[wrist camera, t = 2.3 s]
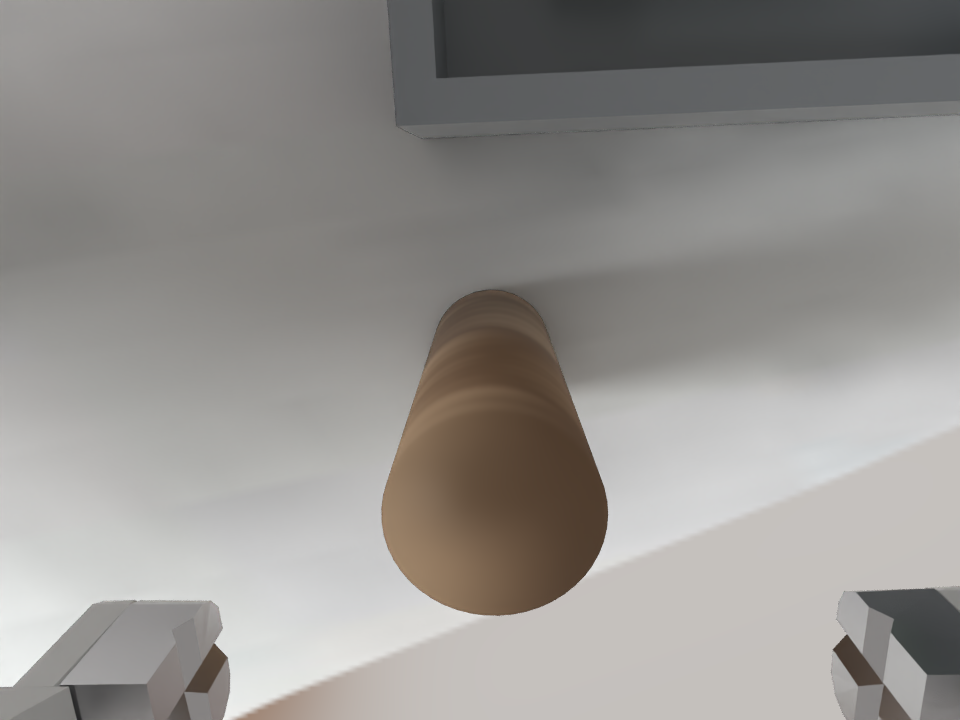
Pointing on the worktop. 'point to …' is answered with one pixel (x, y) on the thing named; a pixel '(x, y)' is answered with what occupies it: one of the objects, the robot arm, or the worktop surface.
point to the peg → (493, 467)
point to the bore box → (667, 63)
